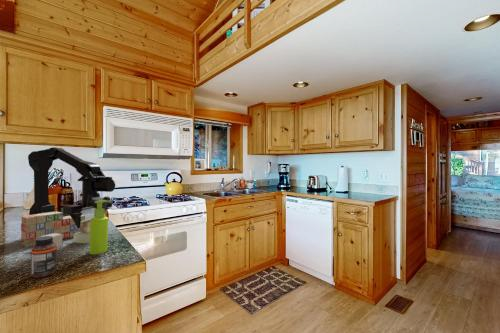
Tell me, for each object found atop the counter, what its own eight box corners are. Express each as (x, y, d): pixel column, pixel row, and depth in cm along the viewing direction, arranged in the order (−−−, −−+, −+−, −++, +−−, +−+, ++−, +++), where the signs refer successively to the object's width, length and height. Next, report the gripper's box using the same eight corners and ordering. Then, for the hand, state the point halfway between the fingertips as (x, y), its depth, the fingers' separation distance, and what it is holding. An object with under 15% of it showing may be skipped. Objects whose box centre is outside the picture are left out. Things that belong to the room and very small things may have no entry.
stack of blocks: (79, 232, 115) (79, 208, 115) (85, 234, 112) (85, 209, 112) (20, 244, 97) (21, 215, 97) (25, 247, 93) (26, 217, 93)
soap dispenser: (113, 249, 93) (114, 199, 93) (96, 255, 86) (97, 202, 87) (102, 247, 95) (103, 199, 95) (85, 253, 88) (86, 201, 88)
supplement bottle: (41, 269, 74) (42, 234, 74) (61, 269, 74) (62, 234, 74) (25, 278, 68) (25, 240, 68) (46, 278, 68) (47, 240, 68)
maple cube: (79, 232, 103) (80, 221, 103) (91, 229, 107) (91, 219, 107) (87, 233, 101) (87, 222, 101) (98, 230, 105) (98, 220, 105)
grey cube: (40, 248, 92) (40, 236, 92) (54, 244, 97) (54, 232, 97) (48, 250, 91) (48, 237, 91) (62, 246, 96) (62, 234, 96)
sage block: (73, 243, 100) (73, 233, 100) (88, 237, 108) (88, 229, 108) (89, 244, 99) (89, 234, 99) (103, 238, 107) (104, 229, 107)
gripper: (81, 194, 92) (80, 233, 92) (121, 190, 110) (120, 222, 110) (62, 192, 96) (62, 230, 96) (103, 189, 114) (103, 220, 114)
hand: (89, 225), depth 104 cm, fingers open, 9 cm apart
